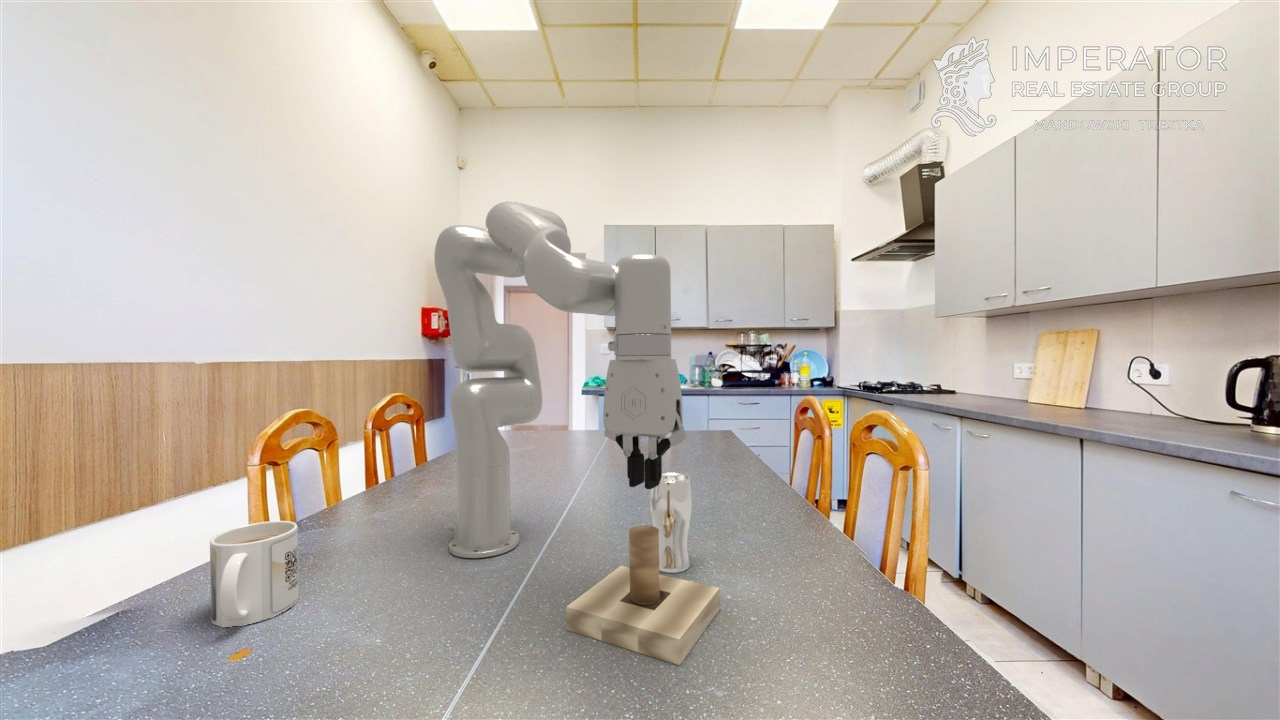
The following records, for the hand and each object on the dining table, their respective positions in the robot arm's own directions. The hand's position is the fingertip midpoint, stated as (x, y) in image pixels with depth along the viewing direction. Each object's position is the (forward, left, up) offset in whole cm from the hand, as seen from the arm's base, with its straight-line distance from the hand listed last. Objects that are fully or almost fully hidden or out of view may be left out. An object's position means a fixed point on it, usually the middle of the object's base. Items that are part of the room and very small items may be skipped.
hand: (644, 484), depth 66 cm
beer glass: (-4, +17, -18) cm, 25 cm away
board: (0, 0, -18) cm, 18 cm away
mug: (-50, -24, -18) cm, 58 cm away
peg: (0, 0, -18) cm, 18 cm away
